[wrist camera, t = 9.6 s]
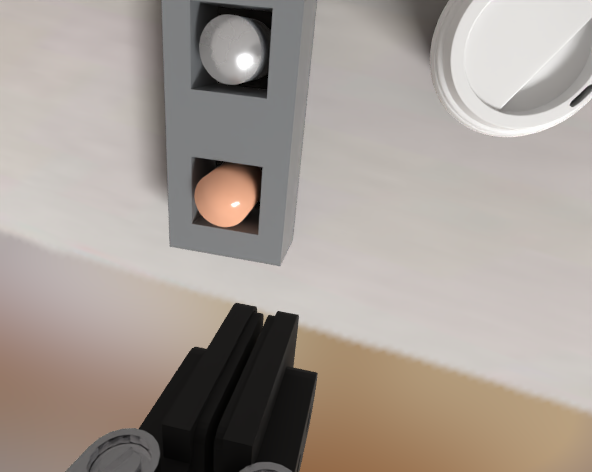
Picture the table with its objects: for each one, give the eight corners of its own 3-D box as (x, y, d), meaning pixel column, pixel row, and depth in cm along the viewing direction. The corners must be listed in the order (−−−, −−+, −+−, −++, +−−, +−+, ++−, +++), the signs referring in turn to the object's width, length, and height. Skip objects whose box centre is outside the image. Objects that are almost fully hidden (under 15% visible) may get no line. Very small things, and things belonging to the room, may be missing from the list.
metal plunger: (279, 21, 37) (262, 17, 32) (275, 82, 39) (259, 88, 34) (223, 15, 37) (199, 11, 32) (222, 76, 39) (199, 81, 34)
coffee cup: (442, 128, 38) (474, 173, 24) (396, 25, 35) (403, 12, 22) (556, 71, 35) (666, 87, 21) (514, -47, 32) (609, -114, 19)
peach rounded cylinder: (267, 161, 41) (250, 177, 36) (263, 209, 43) (247, 231, 38) (217, 153, 41) (194, 168, 36) (216, 202, 43) (194, 222, 38)
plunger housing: (319, -23, 35) (307, -35, 30) (292, 239, 45) (280, 266, 40) (193, -33, 37) (159, -47, 31) (194, 223, 47) (169, 246, 41)
